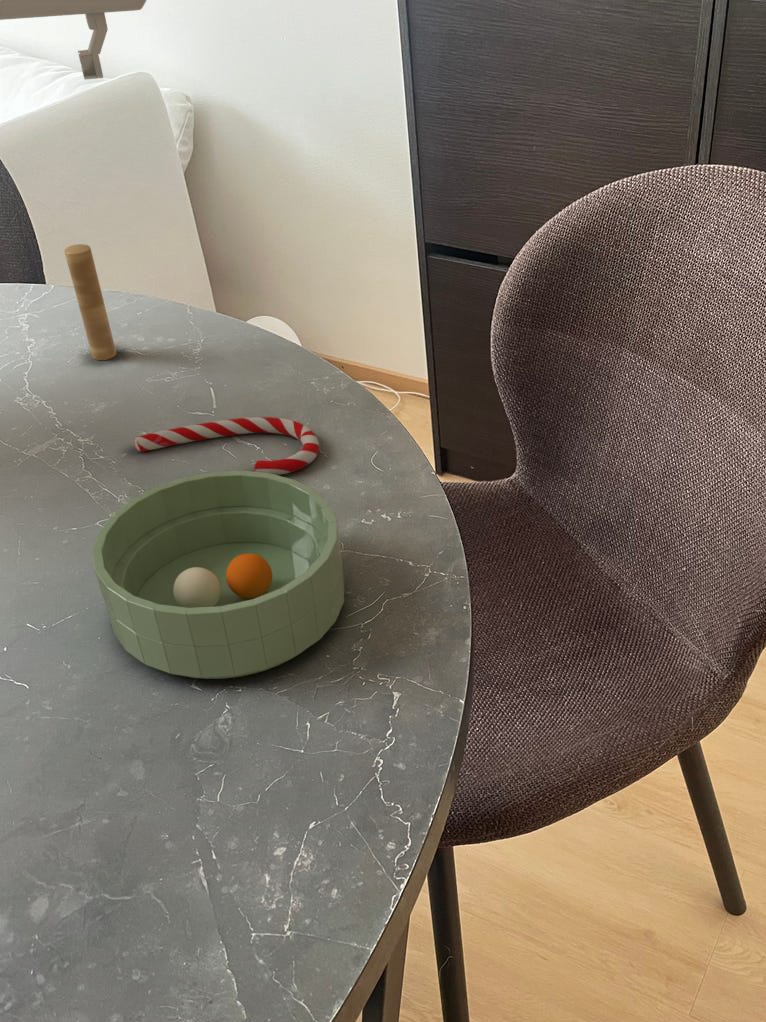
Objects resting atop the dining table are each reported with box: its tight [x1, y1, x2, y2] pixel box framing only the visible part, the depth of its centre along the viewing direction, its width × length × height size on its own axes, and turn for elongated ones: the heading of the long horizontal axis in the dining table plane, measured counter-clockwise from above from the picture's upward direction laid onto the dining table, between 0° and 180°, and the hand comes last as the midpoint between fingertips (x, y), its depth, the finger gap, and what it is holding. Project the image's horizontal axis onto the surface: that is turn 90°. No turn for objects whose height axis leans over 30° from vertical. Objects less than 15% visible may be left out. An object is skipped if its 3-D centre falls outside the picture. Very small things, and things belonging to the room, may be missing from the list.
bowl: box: [91, 470, 345, 680], centre depth 68 cm, size 15×15×6 cm
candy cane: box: [133, 416, 320, 476], centre depth 84 cm, size 8×1×15 cm
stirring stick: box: [64, 243, 117, 361], centre depth 94 cm, size 2×2×10 cm
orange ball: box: [226, 553, 272, 599], centre depth 69 cm, size 3×3×3 cm
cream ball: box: [173, 567, 221, 608], centre depth 68 cm, size 3×3×3 cm
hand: (31, 82), depth 82 cm, fingers open, 8 cm apart
